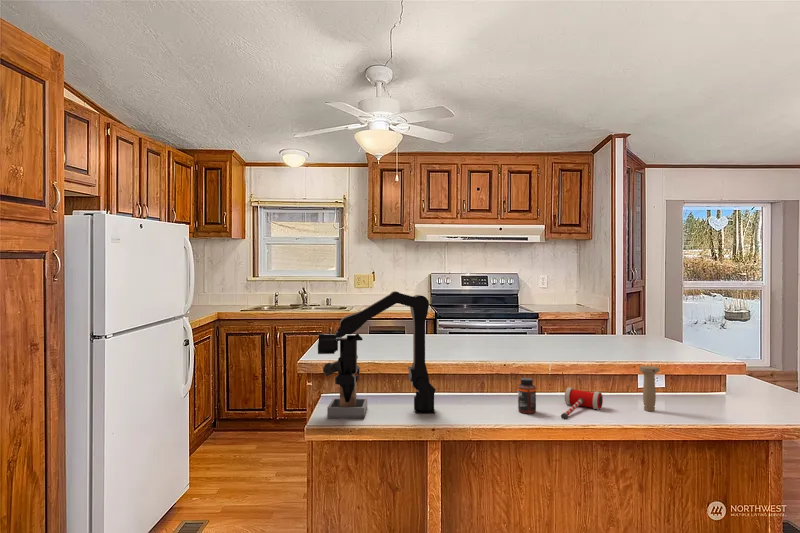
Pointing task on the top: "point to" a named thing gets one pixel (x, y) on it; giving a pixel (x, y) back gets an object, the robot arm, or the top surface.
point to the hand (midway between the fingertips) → (348, 400)
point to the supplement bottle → (527, 396)
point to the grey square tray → (347, 409)
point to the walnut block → (351, 402)
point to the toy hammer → (582, 400)
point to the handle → (649, 386)
